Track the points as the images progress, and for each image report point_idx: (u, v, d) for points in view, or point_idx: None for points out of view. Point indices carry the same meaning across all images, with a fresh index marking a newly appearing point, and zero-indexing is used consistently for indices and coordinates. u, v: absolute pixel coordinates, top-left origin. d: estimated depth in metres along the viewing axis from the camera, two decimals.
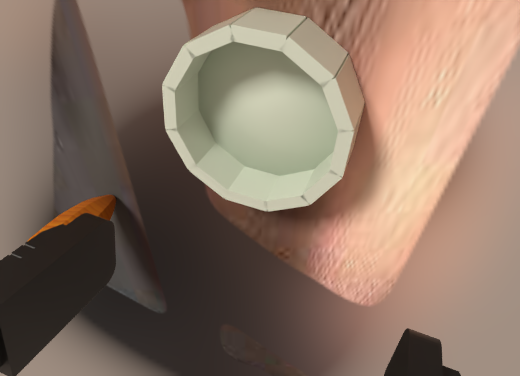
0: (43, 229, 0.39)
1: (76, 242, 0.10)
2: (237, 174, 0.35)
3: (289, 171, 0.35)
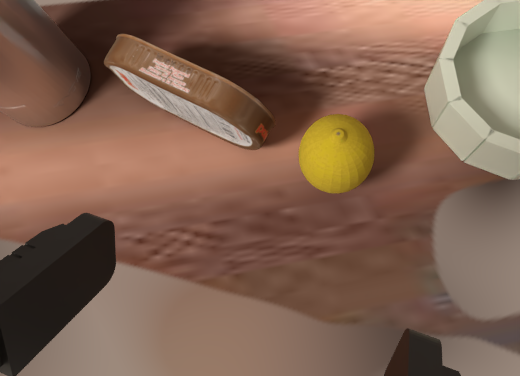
0: None
1: (76, 242, 0.10)
2: None
3: None
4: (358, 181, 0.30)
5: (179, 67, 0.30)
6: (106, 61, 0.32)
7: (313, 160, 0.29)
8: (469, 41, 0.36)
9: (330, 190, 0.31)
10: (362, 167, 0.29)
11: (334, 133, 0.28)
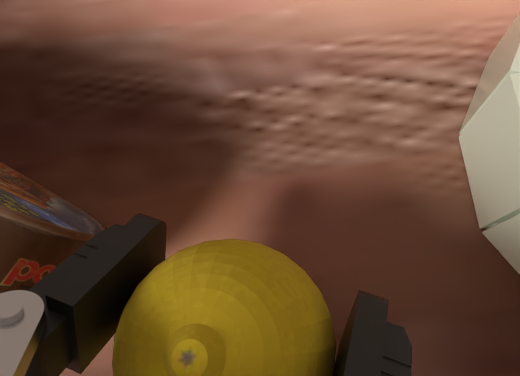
0: None
1: (136, 242, 0.10)
2: None
3: None
4: None
5: None
6: None
7: None
8: None
9: None
10: None
11: (174, 355, 0.08)
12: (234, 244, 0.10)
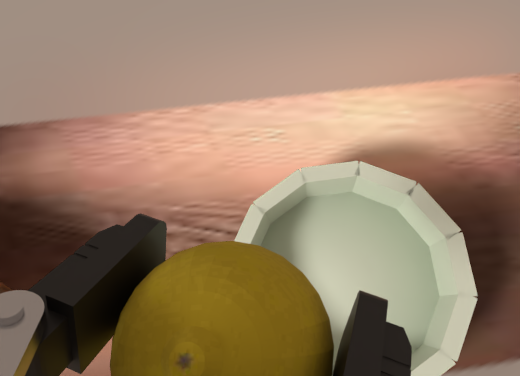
0: None
1: (136, 242, 0.10)
2: (445, 296, 0.26)
3: (415, 236, 0.28)
4: None
5: None
6: None
7: None
8: (289, 209, 0.30)
9: None
10: None
11: (172, 358, 0.08)
12: (232, 246, 0.10)
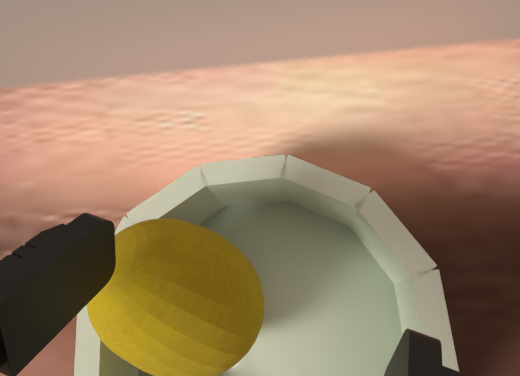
0: None
1: (76, 242, 0.10)
2: None
3: (374, 267, 0.19)
4: (183, 356, 0.13)
5: None
6: None
7: None
8: (198, 223, 0.21)
9: (155, 375, 0.15)
10: (156, 323, 0.13)
11: None
12: None
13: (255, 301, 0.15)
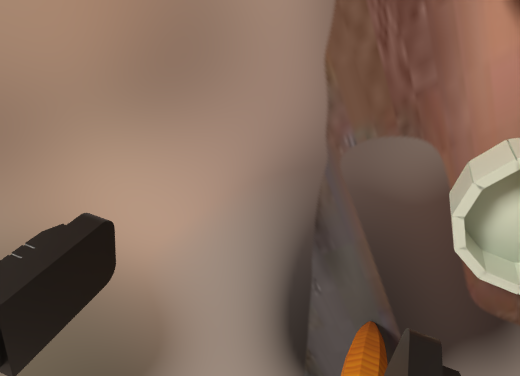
0: (348, 364, 0.45)
1: (76, 242, 0.10)
2: (515, 271, 0.41)
3: None
4: None
5: None
6: None
7: None
8: None
9: None
10: None
11: None
12: None
13: None
